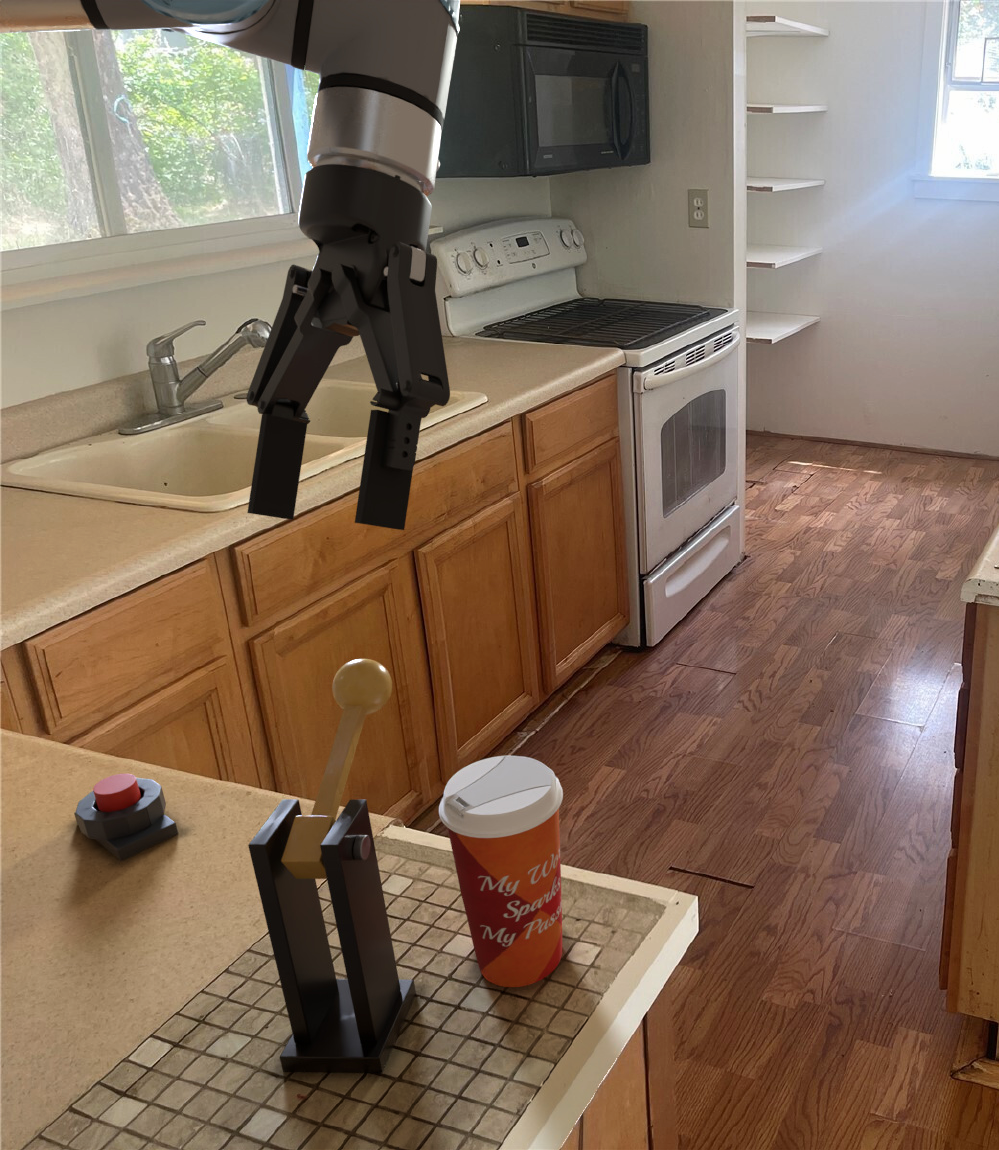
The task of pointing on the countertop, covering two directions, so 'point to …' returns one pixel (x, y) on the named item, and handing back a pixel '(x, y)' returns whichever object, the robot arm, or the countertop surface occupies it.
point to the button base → (128, 822)
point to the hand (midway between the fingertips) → (321, 521)
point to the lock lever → (337, 763)
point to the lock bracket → (301, 949)
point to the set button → (116, 792)
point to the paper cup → (508, 864)
